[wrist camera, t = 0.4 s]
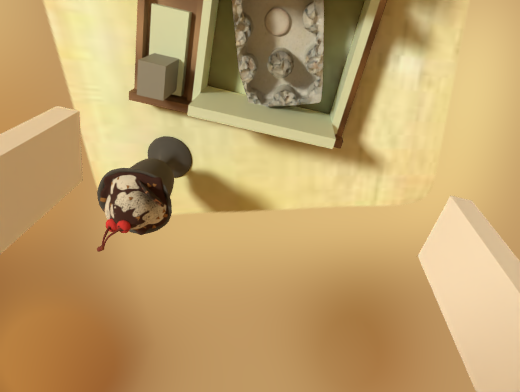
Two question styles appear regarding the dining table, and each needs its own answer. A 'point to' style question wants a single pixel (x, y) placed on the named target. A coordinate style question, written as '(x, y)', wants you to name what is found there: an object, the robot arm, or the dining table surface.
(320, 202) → the dining table surface
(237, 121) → the sage green shelf unit
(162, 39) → the broken strip
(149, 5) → the frame
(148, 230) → the sundae
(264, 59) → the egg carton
